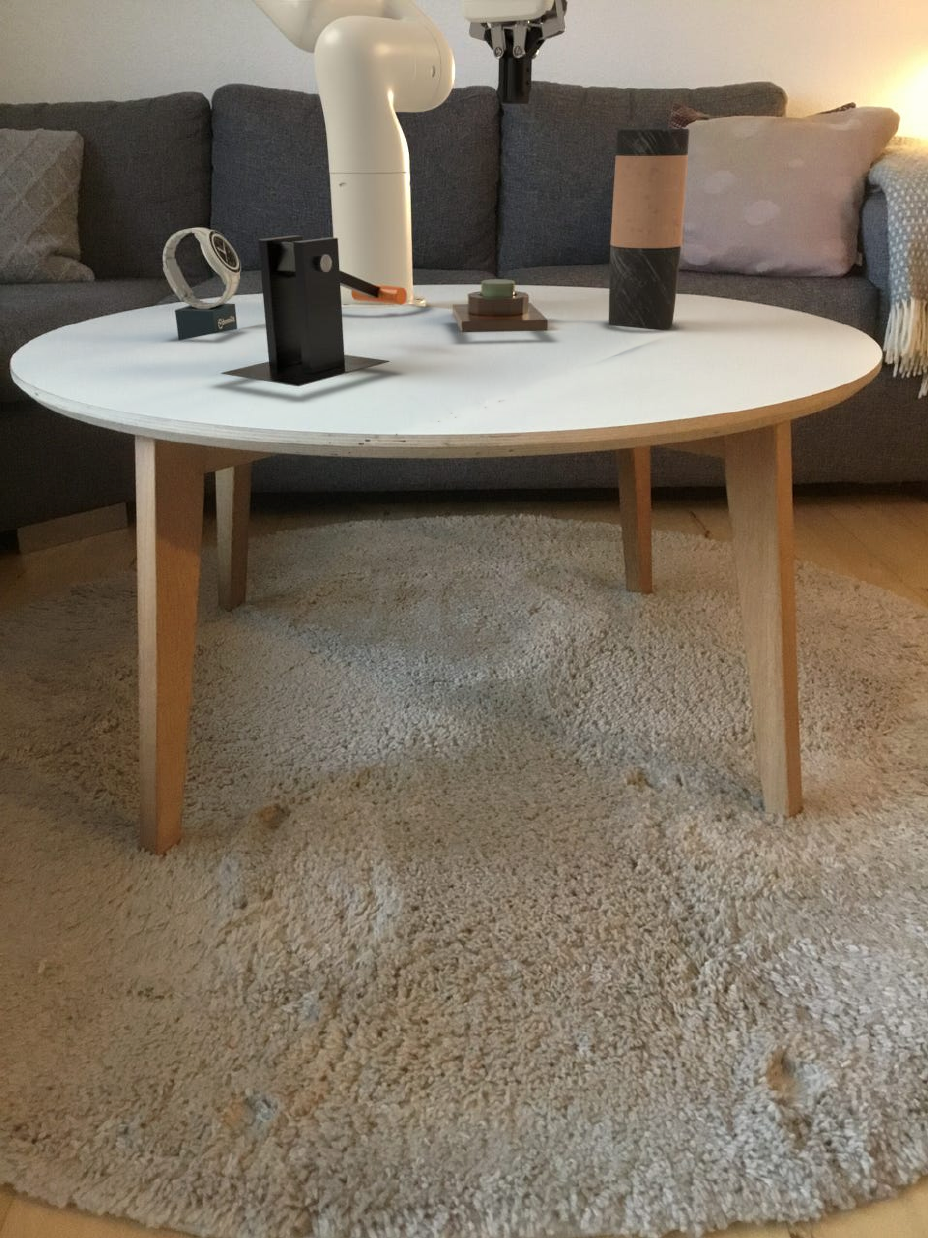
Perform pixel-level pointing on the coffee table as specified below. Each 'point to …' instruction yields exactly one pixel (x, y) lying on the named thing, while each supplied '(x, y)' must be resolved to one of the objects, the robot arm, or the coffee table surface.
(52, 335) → the coffee table surface
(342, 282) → the switch lever
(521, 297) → the button block
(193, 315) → the watch
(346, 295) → the robot arm
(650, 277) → the travel mug
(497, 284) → the warm button
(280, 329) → the switch bracket
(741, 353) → the coffee table surface
